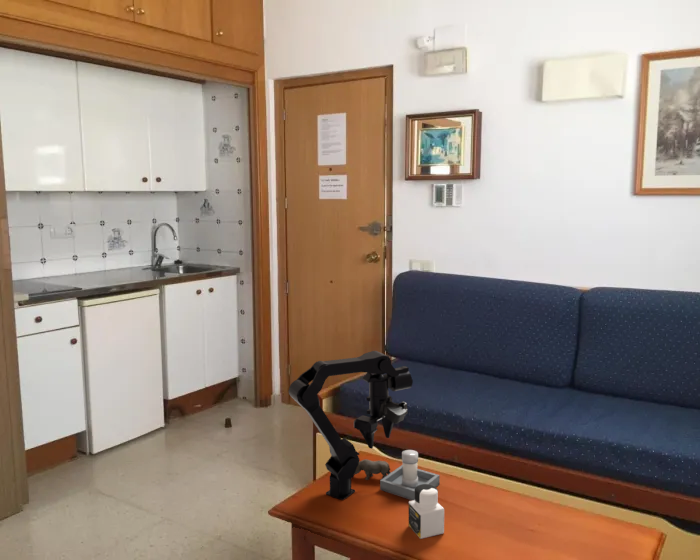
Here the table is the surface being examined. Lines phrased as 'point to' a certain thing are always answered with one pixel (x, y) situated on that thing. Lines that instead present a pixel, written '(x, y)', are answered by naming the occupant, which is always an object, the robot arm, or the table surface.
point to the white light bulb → (410, 468)
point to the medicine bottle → (426, 512)
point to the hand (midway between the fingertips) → (379, 442)
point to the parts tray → (394, 486)
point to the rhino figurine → (373, 468)
